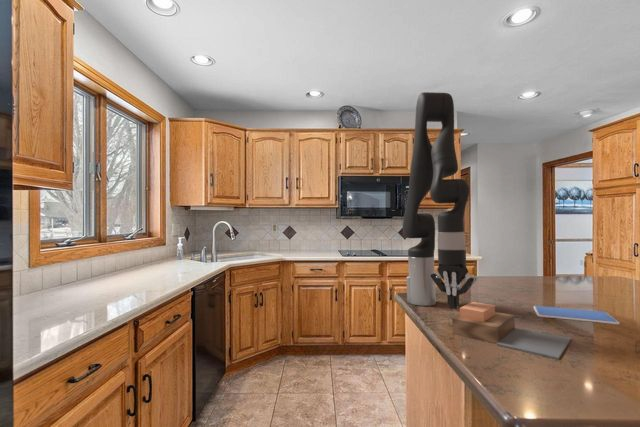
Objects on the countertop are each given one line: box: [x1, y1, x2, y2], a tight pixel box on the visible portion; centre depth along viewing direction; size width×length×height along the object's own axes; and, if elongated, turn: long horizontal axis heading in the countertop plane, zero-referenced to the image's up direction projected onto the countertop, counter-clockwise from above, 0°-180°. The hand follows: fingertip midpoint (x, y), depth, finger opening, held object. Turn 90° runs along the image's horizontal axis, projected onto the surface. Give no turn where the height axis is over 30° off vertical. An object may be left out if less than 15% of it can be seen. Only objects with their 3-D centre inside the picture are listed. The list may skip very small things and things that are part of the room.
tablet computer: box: [533, 305, 621, 326], centre depth 99 cm, size 19×13×1 cm, turn 62°
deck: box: [452, 311, 516, 345], centre depth 86 cm, size 11×14×4 cm
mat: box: [496, 327, 572, 360], centre depth 78 cm, size 12×16×1 cm
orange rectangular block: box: [459, 301, 496, 322], centre depth 87 cm, size 6×9×2 cm, turn 134°
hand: (453, 307), depth 92 cm, fingers closed
